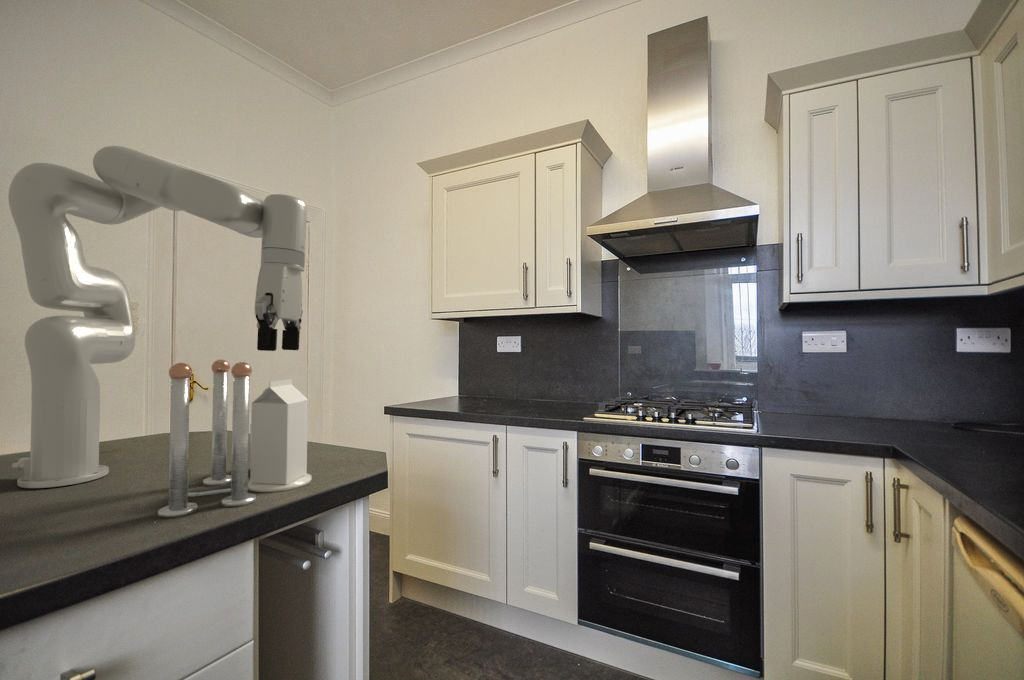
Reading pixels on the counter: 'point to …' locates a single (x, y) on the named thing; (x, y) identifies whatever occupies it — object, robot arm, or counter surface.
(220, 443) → the post
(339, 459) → the counter surface
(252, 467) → the milk carton
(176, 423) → the post
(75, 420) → the robot arm
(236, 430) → the post
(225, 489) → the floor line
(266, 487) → the coaster
